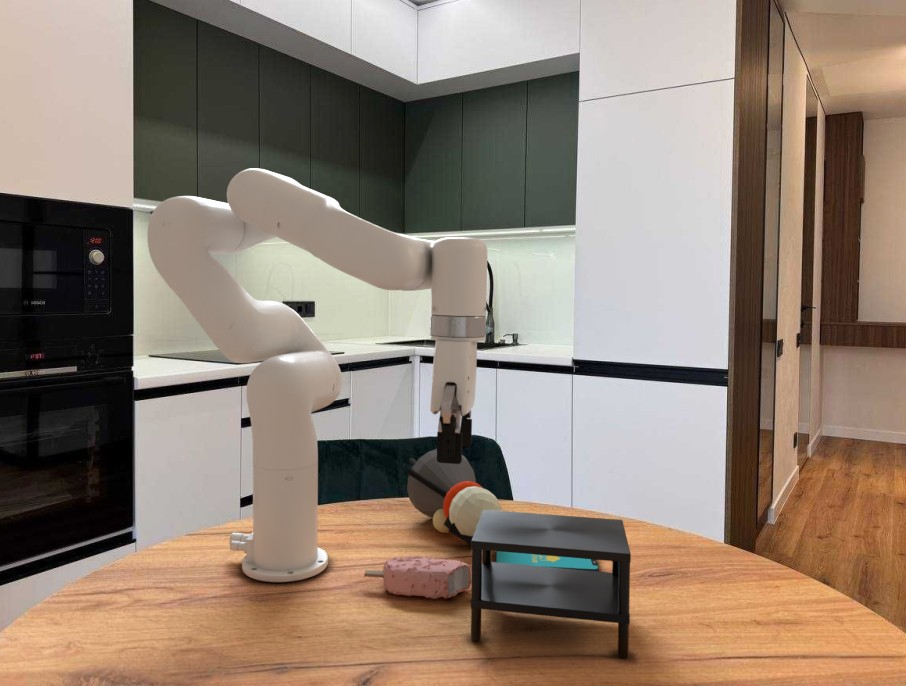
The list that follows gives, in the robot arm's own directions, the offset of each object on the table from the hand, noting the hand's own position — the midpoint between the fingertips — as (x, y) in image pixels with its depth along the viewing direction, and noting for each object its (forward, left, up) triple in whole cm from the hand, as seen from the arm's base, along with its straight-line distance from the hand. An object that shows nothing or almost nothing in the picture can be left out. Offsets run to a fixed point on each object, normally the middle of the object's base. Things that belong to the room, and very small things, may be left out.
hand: (454, 454), depth 95 cm
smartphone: (+12, +13, -19) cm, 26 cm away
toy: (-6, +26, -19) cm, 33 cm away
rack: (+13, -7, -19) cm, 24 cm away
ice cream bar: (-5, -1, -19) cm, 20 cm away
